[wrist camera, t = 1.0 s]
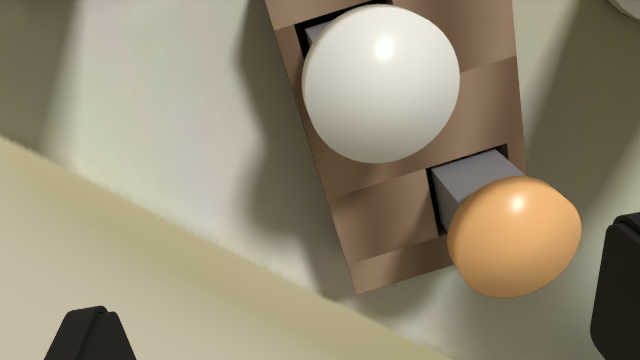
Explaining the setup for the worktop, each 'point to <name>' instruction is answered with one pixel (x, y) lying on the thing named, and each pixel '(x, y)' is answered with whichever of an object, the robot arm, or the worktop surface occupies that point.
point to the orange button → (504, 225)
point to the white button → (379, 82)
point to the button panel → (409, 173)
